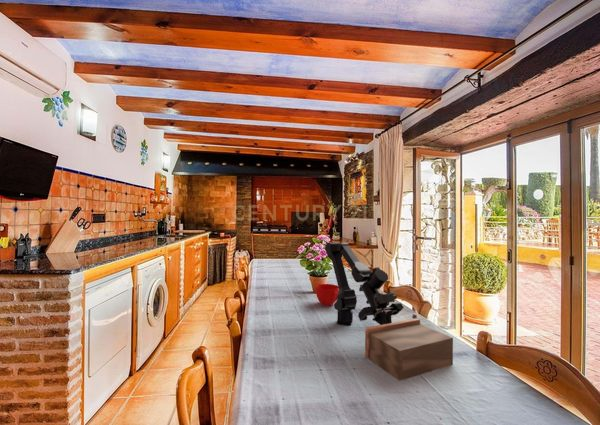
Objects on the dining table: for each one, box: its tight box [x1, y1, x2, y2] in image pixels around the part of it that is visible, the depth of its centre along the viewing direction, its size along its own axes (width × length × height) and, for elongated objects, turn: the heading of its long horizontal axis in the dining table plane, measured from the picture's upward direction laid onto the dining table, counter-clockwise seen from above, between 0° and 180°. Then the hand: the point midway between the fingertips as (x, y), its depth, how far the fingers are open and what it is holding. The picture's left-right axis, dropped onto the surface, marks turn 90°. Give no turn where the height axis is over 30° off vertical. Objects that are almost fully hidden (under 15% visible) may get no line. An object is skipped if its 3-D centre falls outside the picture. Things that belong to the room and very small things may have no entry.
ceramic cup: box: [315, 283, 339, 307], centre depth 161 cm, size 13×17×10 cm
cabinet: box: [369, 324, 454, 381], centre depth 98 cm, size 14×24×9 cm, turn 115°
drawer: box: [364, 318, 421, 359], centre depth 100 cm, size 14×25×10 cm, turn 115°
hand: (391, 332), depth 107 cm, fingers closed, pressing on drawer
